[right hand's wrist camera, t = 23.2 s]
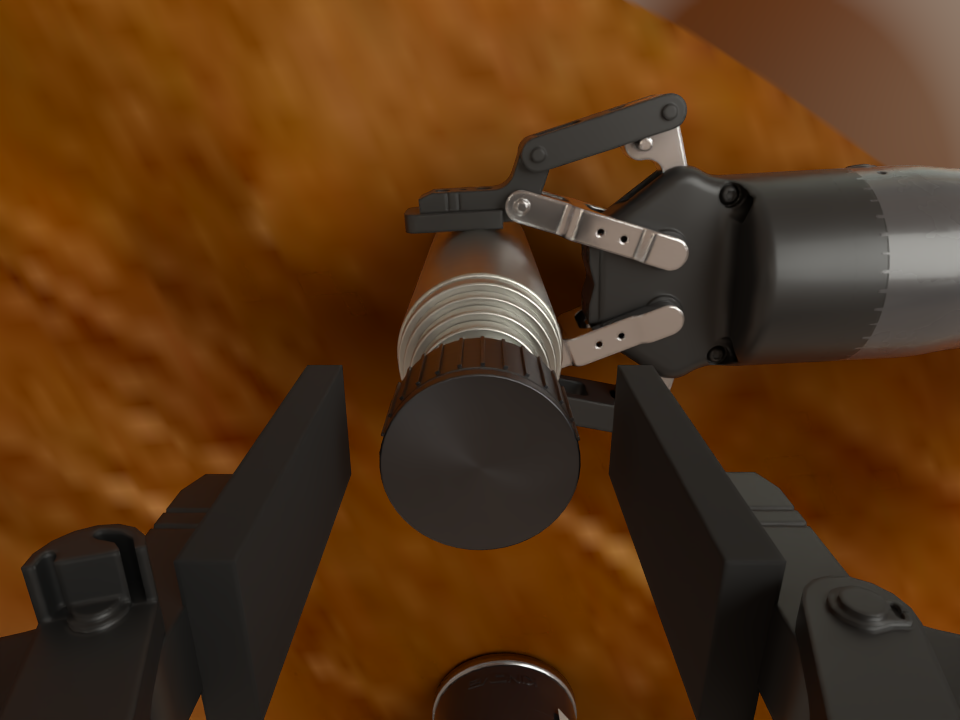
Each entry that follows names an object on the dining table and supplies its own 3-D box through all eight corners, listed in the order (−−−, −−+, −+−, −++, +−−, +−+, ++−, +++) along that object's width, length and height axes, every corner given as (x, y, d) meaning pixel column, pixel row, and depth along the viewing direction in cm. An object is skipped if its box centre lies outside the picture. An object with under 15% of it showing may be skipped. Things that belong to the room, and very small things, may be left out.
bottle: (416, 272, 32) (328, 491, 14) (458, 185, 31) (424, 297, 12) (500, 313, 33) (526, 574, 14) (545, 230, 32) (639, 402, 13)
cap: (355, 390, 14) (335, 435, 12) (513, 300, 14) (519, 333, 12) (450, 521, 15) (446, 581, 13) (599, 446, 15) (618, 498, 13)
